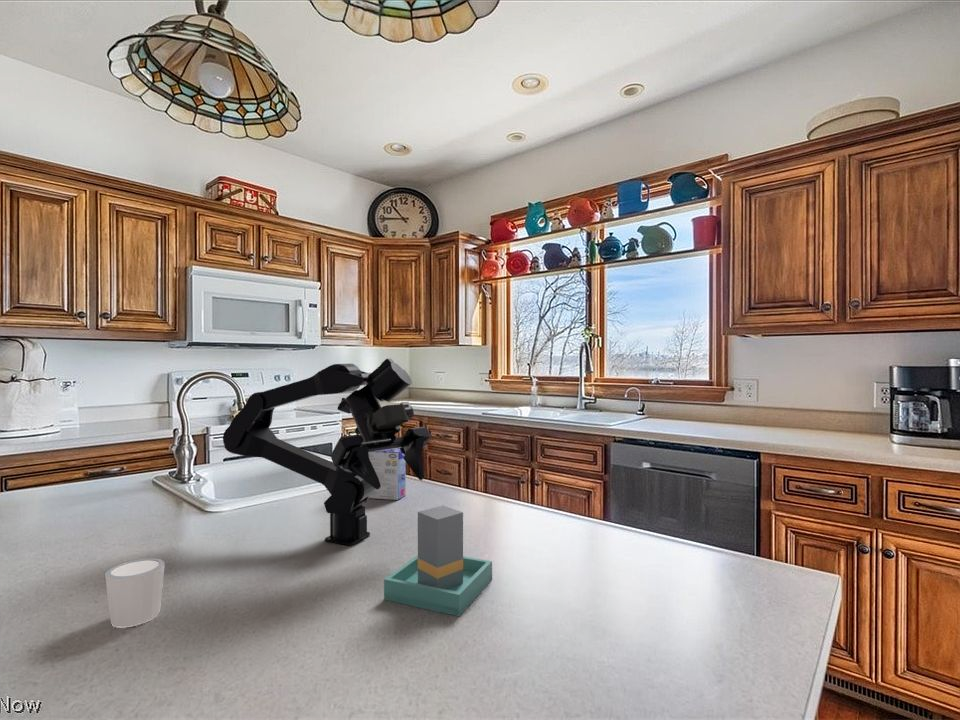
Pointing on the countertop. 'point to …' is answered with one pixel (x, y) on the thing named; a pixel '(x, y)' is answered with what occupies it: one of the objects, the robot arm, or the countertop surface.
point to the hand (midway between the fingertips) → (401, 483)
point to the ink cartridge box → (389, 474)
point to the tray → (449, 601)
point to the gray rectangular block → (440, 547)
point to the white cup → (135, 591)
